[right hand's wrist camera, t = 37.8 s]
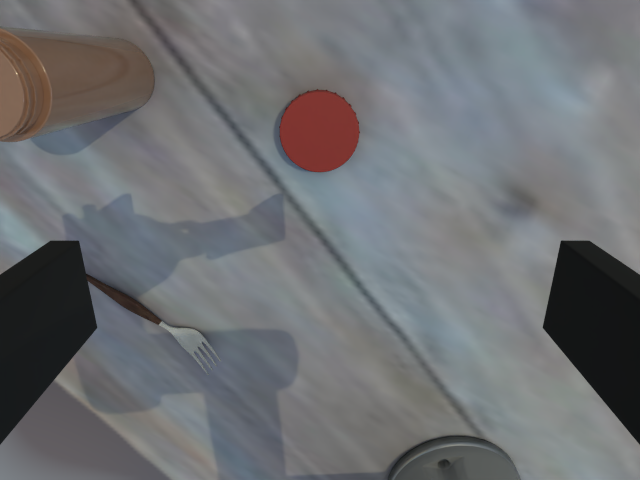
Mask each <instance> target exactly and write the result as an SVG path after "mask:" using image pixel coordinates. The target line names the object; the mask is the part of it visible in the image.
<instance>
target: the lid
mask: <svg viewBox="0 0 640 480" xmlns="http://www.w3.org/2000/svg"><path fill="white" fill-rule="evenodd" d="M285 110H286V111H285V113H284V115H283V116H282V118H281V119H282V120H281V124H280V127H279V128H280V139H281V143H282V146H283V149H284V151H285V152H286V154H287V156H288V157H289V158H290V159H291V160H292V161H293V162H294V163H295V164H296V165H298V166H299V167H301V168H303V169H305V170H309V171H313V172H326V171H331V170H333V169H336V168H338V167H340V166H341V165H343V164H344V163H345V162H346V161H347V160H348V159H349V158H350V157H351V156H352V154H353V152H354V151H355V148H356V146H357V143H358V138H359V133H360V132H359V125H358V124H359V122H358V120H357V118H356V113H355V112H354V111H353V110H352V108H351V105H350V104H348V103H347V102H346V101H345V99H344V98H342V97H340V96H339V95H337V94H336V93H333V92H329V91H327V90H326V91H325V90H318V89H317V90H314V91H310V92H309V91H307V92H306V93H304V94H302V95H299V97H297V98H296V99H295V100H294V101H293V100H292V101H291V104H290V105H289V107H288V108H286V109H285Z"/></svg>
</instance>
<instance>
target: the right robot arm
mask: <svg viewBox="0 0 640 480" xmlns="http://www.w3.org/2000/svg"><path fill="white" fill-rule="evenodd" d="M96 329H97V324H96V319H95V315H94V310H93V305H92V301H91V296H90V291H89V286H88V282H87V277H86V272H85V267H84V263H83V258H82V253H81V248H80V244H79V241H50V242H48V243H47V244H45V245H44V246H42V247H41V248H39V249H38V250H36V251H35V252H33V253H32V254H30V255H29V256H27V257H26V258H24V259H23V260H21V261H20V262H18V263H17V264H16V265H14V266H13V267H11V268H10V269H8V270H7V271H5V272H4V273H2V274H1V275H0V444H1V443H2V442H3V440H4V439H5V438H6V437H7V436H8V434H9V433H10V432H11V431H12V430H13V428H14V427H15V426H16V425H17V424H18V422H19V421H20V420H21V419H22V418H23V416H24V415H25V414H26V413H27V412H28V410H29V409H30V408H31V407H32V406H33V404H34V403H35V402H36V401H37V400H38V398H39V397H40V396H41V395H42V394H43V392H44V391H45V390H46V389H47V388H48V386H49V385H50V384H51V383H52V382H53V380H54V379H55V378H56V377H57V376H58V374H59V373H60V372H61V371H62V369H63V368H64V367H65V366H66V365H67V363H68V362H69V361H70V360H71V359H72V357H73V356H74V355H75V354H76V353H77V351H78V350H79V349H80V348H81V347H82V345H83V344H84V343H85V342H86V341H87V339H88V338H89V337H90V336H91V335H92V333H93V332H94V331H95V330H96ZM543 329H544V330H545V331H546V332H547V333H548V335H549V336H550V337H551V338H552V339H553V341H554V342H555V343H556V344H557V345H558V347H559V348H560V349H561V350H562V351H563V353H564V354H565V355H566V356H567V357H568V359H569V360H570V361H571V362H572V363H573V365H574V366H575V367H576V368H577V370H578V371H579V372H580V373H581V374H582V376H583V377H584V378H585V379H586V380H587V382H588V383H589V384H590V385H591V386H592V388H593V389H594V390H595V391H596V392H597V394H598V395H599V396H600V397H601V398H602V400H603V401H604V402H605V403H606V404H607V406H608V407H609V408H610V409H611V410H612V412H613V413H614V414H615V415H616V416H617V418H618V419H619V420H620V421H621V422H622V424H623V425H624V426H625V427H626V428H627V430H628V431H629V432H630V433H631V435H632V436H633V437H634V438H635V439H636V441H637V442H638V443H639V444H640V275H639V274H638V273H636V272H635V271H633V270H632V269H630V268H629V267H627V266H626V265H624V264H623V263H622V262H620V261H619V260H617V259H616V258H614V257H613V256H611V255H610V254H608V253H607V252H605V251H604V250H602V249H601V248H599V247H598V246H596V245H595V244H593V243H592V242H590V241H561V244H560V248H559V253H558V258H557V263H556V267H555V272H554V277H553V282H552V286H551V291H550V296H549V301H548V305H547V310H546V315H545V319H544V324H543ZM388 480H521V479H520V476H519V474H518V472H517V470H516V468H515V465H514V463H513V462H512V460H511V459H510V457H509V456H508V455H507V454H506V453H505V452H504V451H503V450H502V449H500V448H499V447H497V446H496V445H494V444H492V443H490V442H487V441H484V440H481V439H477V438H472V437H446V438H440V439H436V440H432V441H429V442H427V443H424V444H422V445H420V446H418V447H416V448H414V449H412V450H411V451H410V452H408V453H407V454H406V455H404V456H403V457H402V458H401V459H400V460H399V461H398V462H397V464H396V465H395V466H394V468H393V469H392V471H391V473H390V475H389V478H388Z"/></svg>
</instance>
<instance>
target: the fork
mask: <svg viewBox="0 0 640 480" xmlns="http://www.w3.org/2000/svg"><path fill="white" fill-rule="evenodd" d="M86 277H87V281H89V282H90V283H92V284H93V285H94V286H96V287H97V288H98V289H100V290H101V291H103V292H104V293H105V294H107V295H108V296H109V297H111V298H112V299H113V300H115V301H116V302H117V303H119V304H120V305H121V306H123V307H124V308H126V309H128V310H130V311H131V312H133V313H135V314H137V315H139V316H141V317H143V318H145V319H147V320H149V321H152V322H154V323H156V324H158V325H160V326H162V327H163V328H165V329H167V330H168V331H169V332H170V333H171V334H172V335H173V336H174V337H175V339H176V340H177V341H178V343H179V344H180V345H181V346H182V347H183V348H184V349H185V350H186V351H187V352H188V353H189V354H190V355H191V356H192V357H193V358H194V359H195V360H196V361H197V362H198V363H199V365H200V366H201V367H202V368H203V370H204V371H205V372H206V373H207V375H209V374H208V372H207V371H206V369H205V368H204V366H203V365H202V363H201V362H200V360H199V359H198V358H197V356H196V355H195V353H194V351H195V352H197V353H198V354H199V355H200V357H201V358H202V359H203V360H204V361H205V363H206V364H207V365H208V366H209V368H210V369H211V370H212V371H213V369H212V368H211V366H210V365H209V363H208V362H207V360H206V359H205V357H204V356H203V355H202V353H201V352H200V350H199V349H198V347H200V348H201V349H202V350H203V351H204V352H205V353H206V355H207V356H208V357H209V358H210V359H211V361H212V362H213V363H214V364H215V366H217V365H216V363H215V362H214V360H213V359H212V357H211V356H210V354H209V353H208V351H207V350H206V349H205V347H204V346H203V344H202V342H204V343H205V344H206V345H207V346H208V348H209V349H210V350H211V351H212V352H213V353H214V355H215V356H216V357H217V358H218V360H219V361H220V362H221V360H220V358H219V357H218V355H217V354H216V352H215V351H214V350H213V348H212V347H211V345H210V344H209V343H208V342H207V340H206V339H205V338H204V337H203V335H202V334H201V333H200V332H198V331H197V330H195V329H191V328H175V327H171V326H169V325H167V324H165V323H164V322H163V321H162V320H160V319H159V318H158V317H157V316H155V315H154V314H153V313H152V312H150V311H149V310H148V309H147V308H145V307H144V306H143V305H141V304H140V303H139V302H137V301H136V300H134V299H133V298H131V297H129V296H127V295H125V294H124V293H122V292H120V291H118V290H116V289H114V288H112V287H110V286H108V285H106V284H104V283H102V282H101V281H99V280H97V279H95V278H93V277H91V276H90V275H88V274H86Z"/></svg>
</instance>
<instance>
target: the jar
mask: <svg viewBox="0 0 640 480" xmlns="http://www.w3.org/2000/svg"><path fill="white" fill-rule="evenodd" d="M153 88H154V73H153V69H152V66H151V64H150V61H149V60H148V58H147V57H146V55H145V54H144V53H143V52H142V51H141V50H140V49H139V48H138V47H137V46H136V45H134V44H132V43H131V42H129V41H126V40H123V39H118V38H109V37H99V36H89V35H80V34H70V33H61V32H51V31H41V30H32V29H22V28H13V27H3V26H0V141H2V142H18V141H22V140H26V139H30V138H34V137H37V136H41V135H45V134H48V133H52V132H56V131H59V130H63V129H67V128H70V127H74V126H78V125H81V124H85V123H89V122H92V121H96V120H100V119H103V118H107V117H111V116H114V115H118V114H122V113H125V112H129V111H133V110H136V109H138V108H140V107H142V106H143V105H144V104H145V103H146V102H147V101H148V100H149V98H150V96H151V94H152V92H153Z"/></svg>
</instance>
